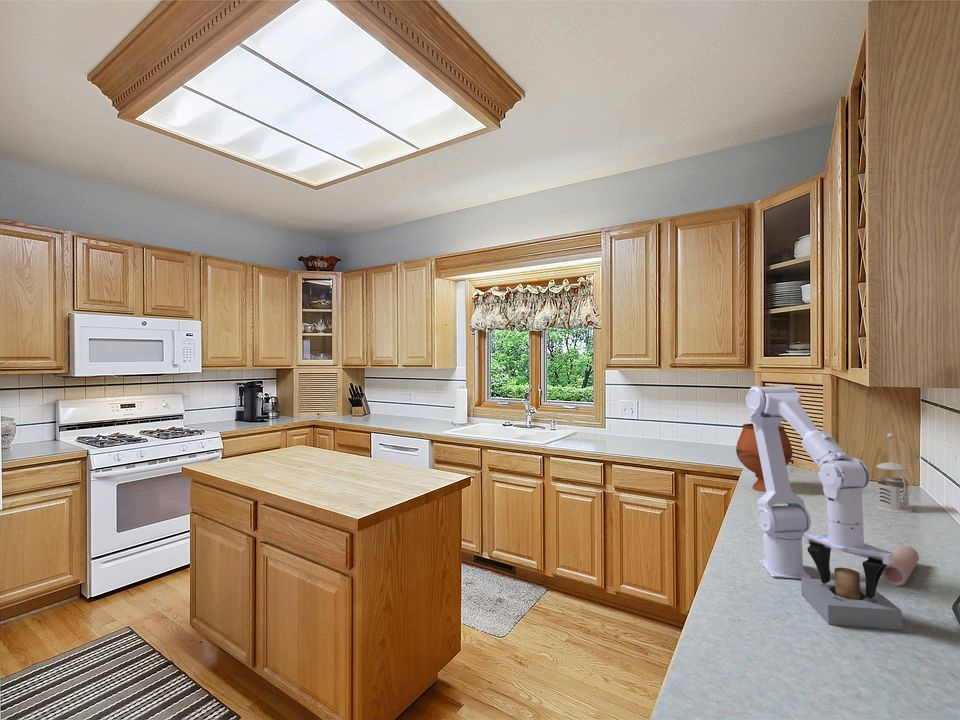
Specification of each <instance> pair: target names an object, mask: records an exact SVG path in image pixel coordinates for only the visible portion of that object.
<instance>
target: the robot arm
mask: <svg viewBox="0 0 960 720" xmlns="http://www.w3.org/2000/svg"><path fill="white" fill-rule="evenodd" d="M745 402H746V408H747V413H748V417H749V421H750V422H752V424H753V426H754V431H755V436H756V441H757V446H758V451H759V456H760V462H761V467H762V472H763V477H764V482H765V487H766V492H765V493H764V494H763V495H762V496H761V497H760V498H759V499H758V500H757V501H756V505H757V511H756V519H757V524H758V526H759V527H760V529H761V530H762V531H763V535H762V551H763V552H762V553H763V554H762V555H763V556H762V557H763V559H759V560H758V561H759V563H760V564H761V566H763V567H764V569H765V570H766V571H767V572H768V574H770V575H771V577H773V578H783V579H784V578H785V579H801V578H808V579H812V577H811V576H810V574H808V573H807V572H806V571H805V570H804V562H803V561H804V560H803V559H804V558H803V557H804V556H803V553H804V552H803V543H805V544H808V545H809V546H808V547H807V553H808V554H809V555H810V557H811V558H812V560H813V562H814V564H815V566H816V568H817V571H818V574H819V577H820V579H821V582H822V583H824V584H826V583H828V582H829V581H830V580H831V566H830V563H831V562H830V561H831V551H832V550H835V551H839V552H842V553H846V554H850V555H852V556H853V555H854V556H858V557H862V558H866V559H867V560H864V561H862V567H863V572H864V576H865V582H866V597H868V598H872V597H874V596H875V592H876V591H877V587H878V585H879V582H880V578H881V577H882V576H881V575H882V573H883V571H884V570H885V568H886V567H887V565H890V564H892V563H893V553H892V552H893V551H888V550H884V549H883V548H880V547H879V548H878V547H876V546H873V545H870V544H869V543H868V544H867V543H865V542H864V541H865V538H864V537H865V536H864V535H865V534H864V512H863V511H864V508H863V506H864V505H863V489H865V488H867V487H868V485H869V483H870V479H871V478H870V473H869V470H868V469H869V468H868V467H867V466H866V464H865V463H864V462H863V461H862V460H861V459H860V458H859V459H858V458H854V457H853V455H849V454H847V453H846V451H844V449H842V447H841V446H840V445H839V444H838V443H837V441H836V440H835V439H834V438H833V436H832V435H831V433H829V432H827V431H825V430H819V429H818V428H817V426H816V424H815V423H814V422H813V420H812V419H811V417H810V416H809V415H808V413H807V412H806V410H805V409H804V408H803V406H802V396H801V394H800V393H799V391H797V389H796V388H795V386H794V385H793V386H792V385H782V386H781V385H780V386H777V385H775V386H757V385H754V386H752V387H751V388H749V390H748V392H747V394H746V397H745ZM782 421H783V422H784V421H786V422H787V423H788V424H789V425H790V426H791V427H792V428H793V429H794V431H795V432H796V433H797V434H798V435H799V436H800V437H801V438H802V441H801V447H802V448H803V449H804V451H805V453H807V455H808V456H809V457H810V459H811V460H812V462H813V463H814V464H815V465H816V466H817V468H818V469H819V471H818V472H817V473H818V474H817V475H818V478H819V480H820V483H821V485H822V488H823V490H822V491H823V493H824V496H826V510H827V511H826V512H827V514H826V515H827V516H826V517H827V534H821V533H816V532H812V531H811V532H810V531H809V530H810V528H811V526H812V525H811V522H812V520H811V519H812V518H811V516H810V514H809V512H808V510H807V509H806V506H805V501H804V500H803V499H802V498H801V497H800V496H798V495H796V493H794V492H793V491H792V488H791V487H792V486H791V483H790V478H789V474H788V467H787V466H786V463H785V458H784V453H783V448H782V444H781V439H780V434H779V429H778V425H780V424H781V422H782ZM782 504H783V505H782ZM784 504H786V505H784Z"/></svg>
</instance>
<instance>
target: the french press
mask: <svg viewBox="0 0 960 720" xmlns="http://www.w3.org/2000/svg"><path fill="white" fill-rule="evenodd" d="M886 437H887V438H888V437H889V439H890V441H889V443H890V461H889V462H886V461H885V462H882V463H879V464H876V465H875V467H876V468H877V469H879V470H885V471H891V476H880V477H878V480H879V481H877V493H878V494H877V496H878V498H877V500H878V503H876V504H875V505H876V507H878V508H879V509H878V510H880V509H883V510H888V511H893V512H892V513H895V512H900V513H899V514H910V513H909V512H912V510H913V509H912V508H911V507H909V506H910V505H909V504H910V501H909V499H910V498H909V496H910V495H911V492H912V482H911V480H910V479H909V477H908V475H906V474H905V473H904V474H903V475H901V474H899V473H897V477H894V475H893V472H906V471H908V469H909V468H908V467H907V466H905V465H903V464H901V463H897V462H893V452H892V451H893V450H892V448H893V447H892V438H895V434H894V433H893V432H888V434H886ZM905 477H906V478H907V480H908V483H909V485H908V484H906V483H907V480H906V479H904V478H905ZM901 489H902V490H901ZM901 493H902V494H901ZM901 497H902V498H901ZM883 510H882V511H883ZM888 511H887V512H888ZM912 513H913V512H912Z"/></svg>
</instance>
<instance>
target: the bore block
mask: <svg viewBox="0 0 960 720" xmlns="http://www.w3.org/2000/svg"><path fill="white" fill-rule="evenodd" d="M800 581H801V582H800V584H801V596H802V597H803V598H804V599H805V600H806V601H807V602H808V603H809V605H810V606H811V607H812V608H813V609H814V610H815V611H816V612H817V613H818V615H819V616H821V617H822V619H824V621H825V622H826V623H827V624H828V625H834V626H848V627H860V628H874V629H881V630H882V629H884V630H885V629H886V630H896V631H903V617H902V616H903V615H902V614H903V613H902V612H903V611H902V609H900V608H899V607H898V606H896V605H895V604H894V603H893V602H891V601H890V600H889V599H888V598H886V597H885V596H884V595H883V594H882V593H880V591H878V590H876V592H875V596H874V597H872V598H868V597H866V581H860V598H861V600H852V599H846V598H843V597H840V596H837V595H835V579H830V581H829V582H828V583H826V584H824V583H822V582H821V578H820V579H819V578H811V579H808V578H801V580H800Z"/></svg>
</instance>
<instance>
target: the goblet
mask: <svg viewBox="0 0 960 720" xmlns="http://www.w3.org/2000/svg"><path fill="white" fill-rule="evenodd" d="M741 427H742V430H741V432H740V435H739V437H738V440H737V443H736V448H735V451H736V452H735V453H736V456H737V458H738V460H739V462H740V463H741V464H742V465H743V466H744V467H745V468H747V469H748V471H751V472H752V473H754V474H755V475H754V476H755V477H756V478H757V480H756V481H755V483H753V485H752V487H751V488H752V490H753V489H754V490H756V491H758V492H759V491H760V492H765V491H766V487H765V482H764V477H763V472H762V467H761V462H760V456H759V451H758V446H757V441H756V436H755V431H754V426H753V423H744V424H742V426H741ZM778 429H779V434H780V439H781V444H782V448H783V453H784V458H785V463H786V467H787V466H788V465H789V464H790V462H791V460H792V458H793V448H792V443H791V441H790V438H789V437H788V434H787V432H786V429H785V426H784V425H780V424H779V425H778Z"/></svg>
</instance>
